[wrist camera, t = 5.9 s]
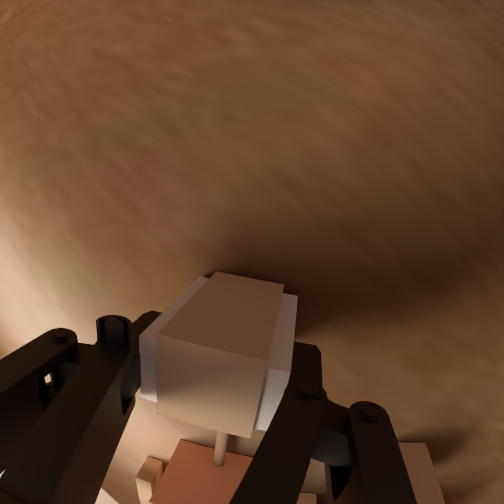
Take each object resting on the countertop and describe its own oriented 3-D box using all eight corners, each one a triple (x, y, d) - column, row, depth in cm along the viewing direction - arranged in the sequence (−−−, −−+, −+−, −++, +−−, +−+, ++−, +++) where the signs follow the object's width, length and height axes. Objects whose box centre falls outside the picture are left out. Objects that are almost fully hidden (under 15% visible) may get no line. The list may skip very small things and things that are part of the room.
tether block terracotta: (191, 266, 16) (120, 323, 10) (310, 289, 16) (312, 368, 9) (179, 483, 21) (150, 546, 14) (252, 501, 20) (235, 570, 13)
